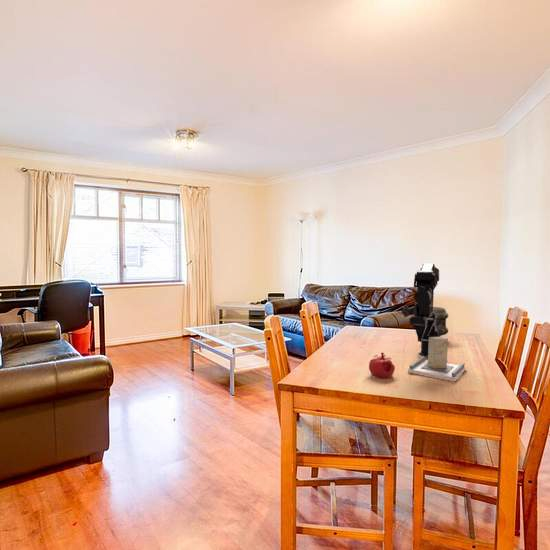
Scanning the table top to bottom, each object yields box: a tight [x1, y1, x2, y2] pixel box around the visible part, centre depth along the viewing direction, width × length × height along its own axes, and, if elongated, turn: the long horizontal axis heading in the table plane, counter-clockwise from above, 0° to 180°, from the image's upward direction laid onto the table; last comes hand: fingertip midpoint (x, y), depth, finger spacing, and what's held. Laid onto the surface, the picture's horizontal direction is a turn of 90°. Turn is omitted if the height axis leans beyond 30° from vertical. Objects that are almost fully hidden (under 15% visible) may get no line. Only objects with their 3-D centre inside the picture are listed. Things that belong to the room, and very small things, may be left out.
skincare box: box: [427, 336, 449, 369], centre depth 161 cm, size 6×4×12 cm
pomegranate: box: [368, 351, 396, 379], centre depth 155 cm, size 10×10×9 cm
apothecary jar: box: [433, 306, 449, 337], centre depth 215 cm, size 12×12×18 cm
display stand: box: [407, 355, 467, 382], centre depth 161 cm, size 18×18×3 cm
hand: (423, 338), depth 164 cm, fingers open, 9 cm apart
